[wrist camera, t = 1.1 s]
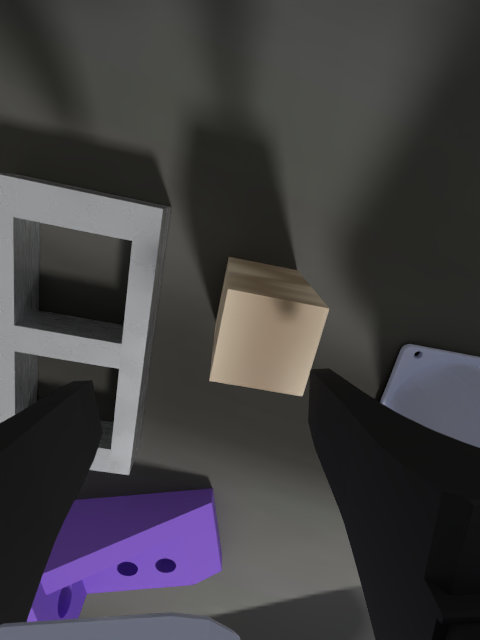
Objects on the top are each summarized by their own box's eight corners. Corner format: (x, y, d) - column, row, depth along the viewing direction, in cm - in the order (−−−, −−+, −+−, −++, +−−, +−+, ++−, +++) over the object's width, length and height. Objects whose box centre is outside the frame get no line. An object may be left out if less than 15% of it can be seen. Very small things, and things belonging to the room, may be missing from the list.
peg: (297, 270, 20) (329, 308, 14) (280, 333, 22) (302, 396, 15) (228, 256, 20) (227, 288, 13) (215, 321, 21) (209, 380, 15)
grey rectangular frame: (171, 206, 19) (163, 209, 16) (139, 447, 24) (129, 475, 22) (15, 173, 18) (-17, 171, 16) (17, 429, 23) (-7, 456, 21)
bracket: (72, 563, 28) (26, 673, 22) (49, 498, 26) (-10, 600, 19) (221, 551, 28) (219, 657, 22) (212, 484, 26) (207, 582, 19)
